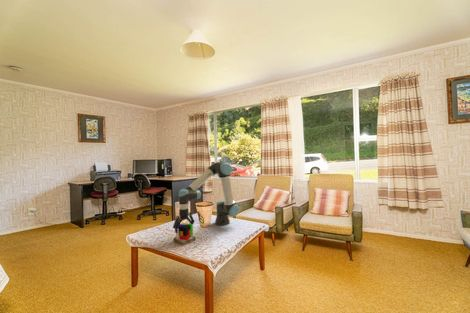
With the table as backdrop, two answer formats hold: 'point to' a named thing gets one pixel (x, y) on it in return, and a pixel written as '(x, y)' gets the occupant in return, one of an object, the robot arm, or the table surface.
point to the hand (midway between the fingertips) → (184, 233)
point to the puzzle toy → (185, 231)
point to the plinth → (183, 242)
